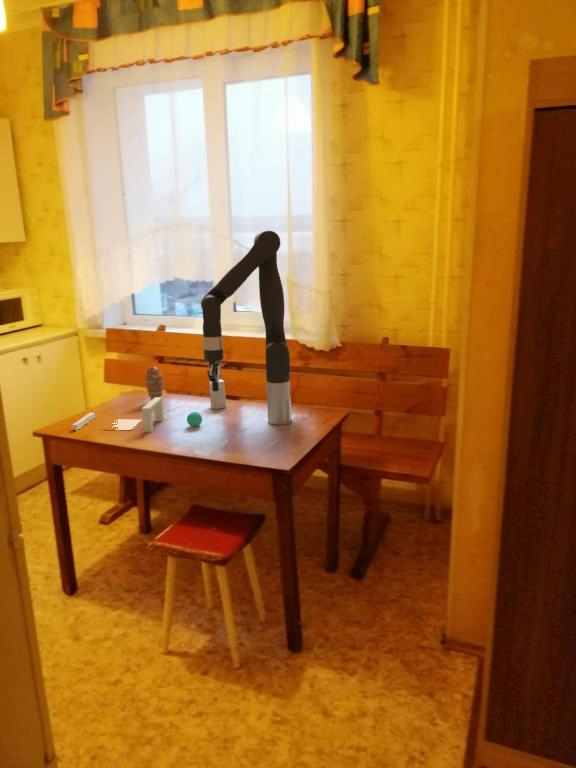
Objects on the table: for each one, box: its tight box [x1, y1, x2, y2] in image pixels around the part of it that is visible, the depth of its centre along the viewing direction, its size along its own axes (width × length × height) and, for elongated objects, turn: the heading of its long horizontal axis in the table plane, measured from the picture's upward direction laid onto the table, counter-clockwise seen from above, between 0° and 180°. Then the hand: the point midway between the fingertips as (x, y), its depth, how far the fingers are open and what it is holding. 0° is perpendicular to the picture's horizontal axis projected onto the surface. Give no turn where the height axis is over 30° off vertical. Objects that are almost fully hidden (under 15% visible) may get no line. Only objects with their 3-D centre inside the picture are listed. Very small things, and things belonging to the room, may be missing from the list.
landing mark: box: [112, 418, 143, 431], centre depth 244 cm, size 13×13×1 cm
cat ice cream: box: [144, 363, 164, 401], centre depth 269 cm, size 9×8×18 cm
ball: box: [186, 411, 203, 428], centre depth 239 cm, size 6×6×6 cm
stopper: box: [71, 412, 96, 431], centre depth 245 cm, size 2×16×2 cm, turn 172°
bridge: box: [141, 396, 165, 433], centre depth 240 cm, size 3×15×10 cm, turn 172°
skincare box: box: [208, 378, 227, 410], centre depth 262 cm, size 6×4×12 cm
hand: (215, 390), depth 234 cm, fingers closed
